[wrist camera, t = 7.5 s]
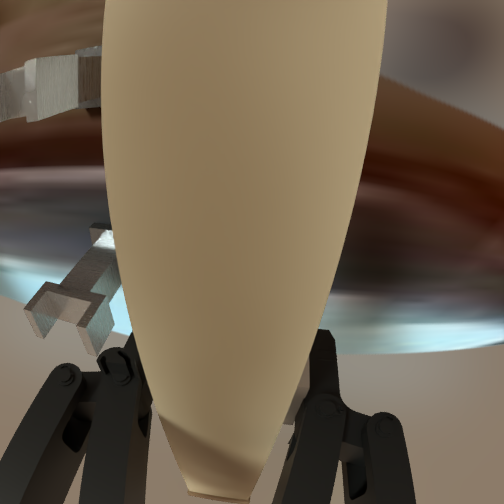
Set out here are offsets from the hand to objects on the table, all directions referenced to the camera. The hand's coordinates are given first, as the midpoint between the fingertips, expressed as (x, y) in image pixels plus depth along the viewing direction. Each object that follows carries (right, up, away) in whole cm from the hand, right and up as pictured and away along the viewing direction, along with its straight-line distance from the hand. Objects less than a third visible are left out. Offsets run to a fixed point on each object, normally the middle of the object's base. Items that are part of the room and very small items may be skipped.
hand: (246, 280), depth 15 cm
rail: (0, -1, -1) cm, 2 cm away
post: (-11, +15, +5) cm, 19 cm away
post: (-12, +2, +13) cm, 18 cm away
